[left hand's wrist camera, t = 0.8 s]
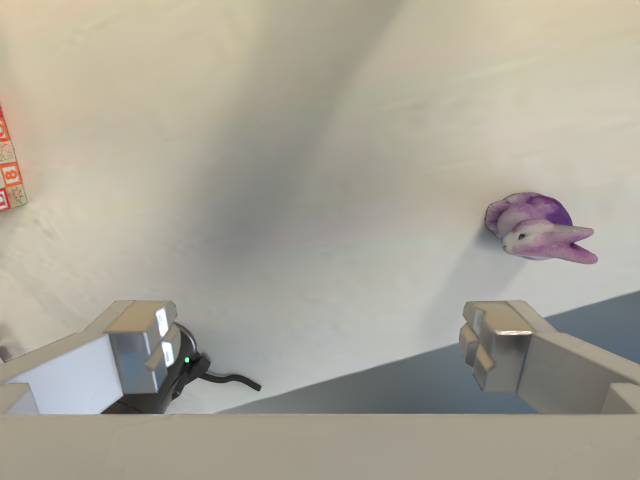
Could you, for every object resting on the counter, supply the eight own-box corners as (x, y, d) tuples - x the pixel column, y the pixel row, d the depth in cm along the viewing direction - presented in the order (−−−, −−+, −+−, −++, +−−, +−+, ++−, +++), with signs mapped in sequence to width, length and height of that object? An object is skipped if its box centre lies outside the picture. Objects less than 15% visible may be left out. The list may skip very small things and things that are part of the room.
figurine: (467, 219, 54) (520, 258, 39) (526, 173, 51) (605, 196, 37) (502, 262, 56) (564, 313, 42) (560, 219, 54) (646, 258, 39)
